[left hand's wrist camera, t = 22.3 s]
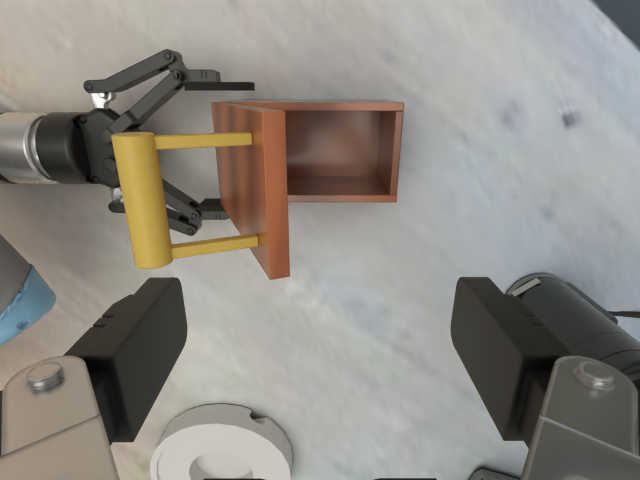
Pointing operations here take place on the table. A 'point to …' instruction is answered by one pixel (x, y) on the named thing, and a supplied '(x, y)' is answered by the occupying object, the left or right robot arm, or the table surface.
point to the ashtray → (221, 446)
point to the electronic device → (489, 476)
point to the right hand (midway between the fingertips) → (256, 148)
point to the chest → (340, 148)
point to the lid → (234, 183)
